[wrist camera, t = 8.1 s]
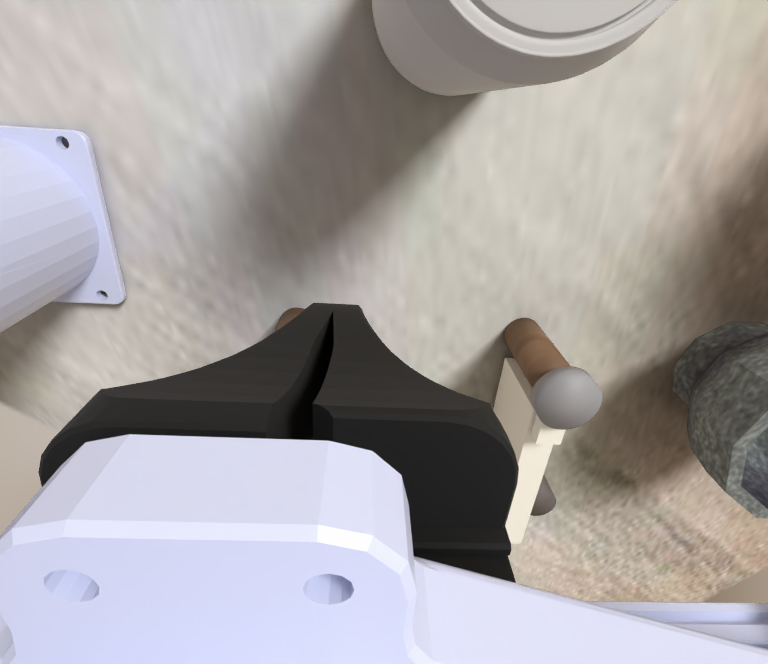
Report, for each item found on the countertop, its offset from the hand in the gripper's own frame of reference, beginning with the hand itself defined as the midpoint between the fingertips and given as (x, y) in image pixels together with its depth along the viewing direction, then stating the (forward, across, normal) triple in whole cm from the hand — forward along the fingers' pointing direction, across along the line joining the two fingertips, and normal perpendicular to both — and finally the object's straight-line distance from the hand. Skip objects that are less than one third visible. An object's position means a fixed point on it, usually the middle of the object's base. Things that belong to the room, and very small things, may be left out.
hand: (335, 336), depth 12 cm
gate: (+10, -10, +10) cm, 17 cm away
